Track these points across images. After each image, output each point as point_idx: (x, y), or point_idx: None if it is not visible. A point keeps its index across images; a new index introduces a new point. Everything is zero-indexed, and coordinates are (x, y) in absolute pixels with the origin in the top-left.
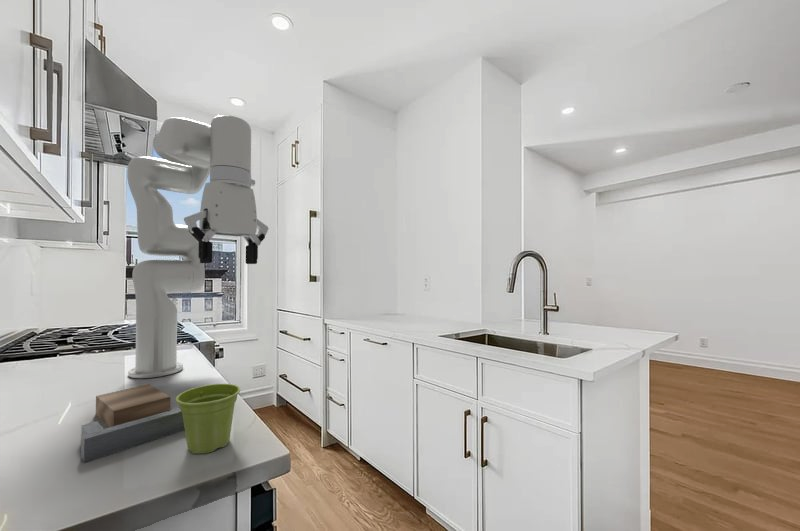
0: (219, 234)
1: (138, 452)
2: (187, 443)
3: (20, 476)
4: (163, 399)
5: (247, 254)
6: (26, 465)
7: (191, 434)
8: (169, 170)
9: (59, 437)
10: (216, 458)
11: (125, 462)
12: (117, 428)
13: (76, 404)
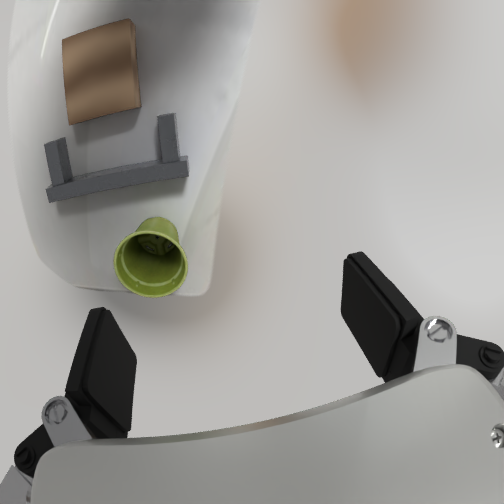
0: (199, 440)
1: (97, 204)
2: (135, 241)
3: (24, 188)
4: (126, 109)
5: (366, 301)
6: (23, 166)
7: (135, 257)
8: None
9: (38, 106)
10: None
11: (88, 218)
12: (72, 193)
13: None
